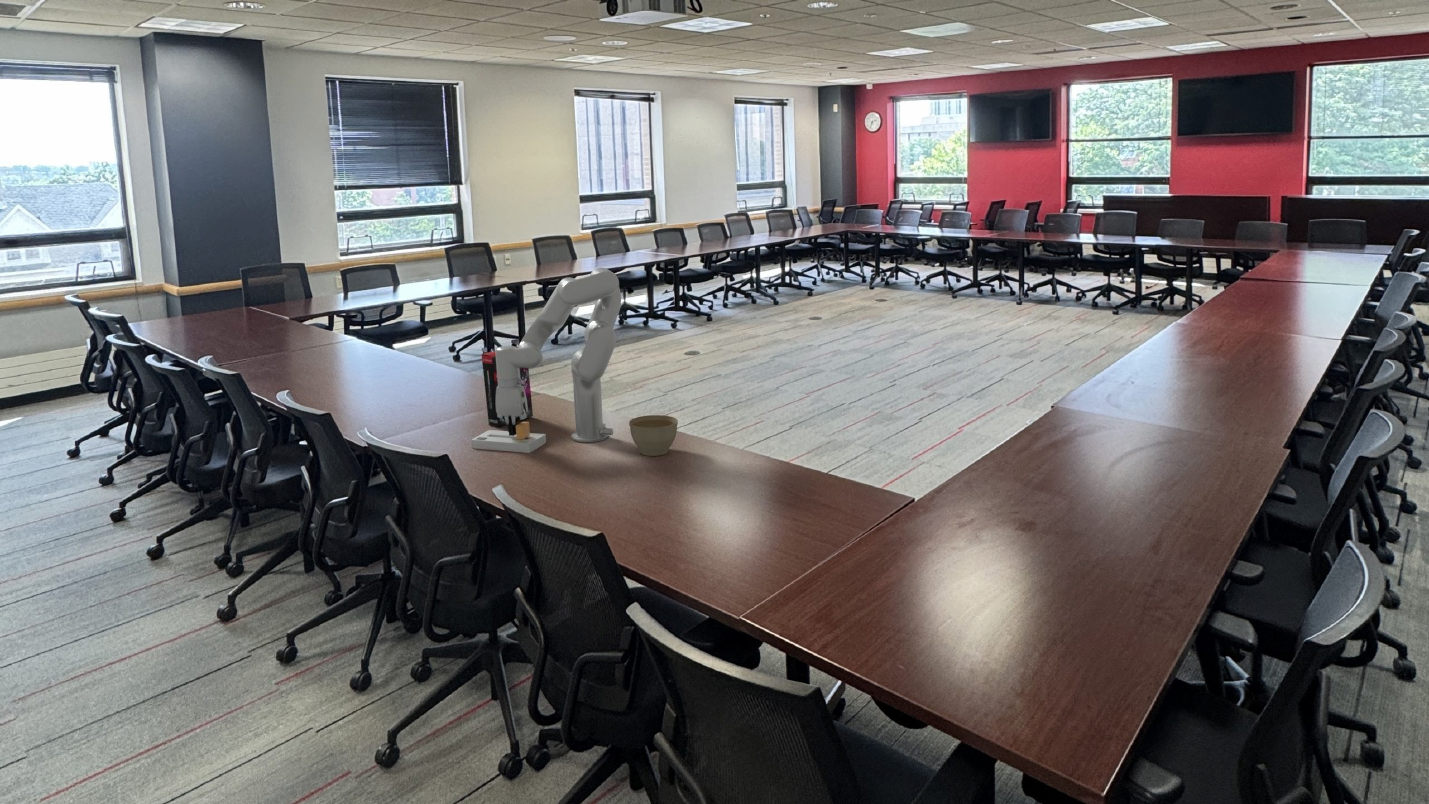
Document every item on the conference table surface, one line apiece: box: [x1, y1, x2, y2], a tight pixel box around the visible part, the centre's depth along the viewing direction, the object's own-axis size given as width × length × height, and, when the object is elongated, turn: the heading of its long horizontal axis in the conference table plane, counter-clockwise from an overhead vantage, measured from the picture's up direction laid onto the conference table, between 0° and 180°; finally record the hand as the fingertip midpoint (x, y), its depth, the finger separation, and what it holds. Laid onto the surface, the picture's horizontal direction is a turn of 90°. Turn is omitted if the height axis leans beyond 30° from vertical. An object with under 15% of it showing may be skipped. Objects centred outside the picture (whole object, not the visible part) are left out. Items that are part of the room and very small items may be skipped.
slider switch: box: [471, 429, 547, 454], centre depth 316 cm, size 22×12×3 cm, turn 73°
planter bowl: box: [628, 414, 679, 457], centre depth 305 cm, size 16×16×11 cm
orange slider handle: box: [516, 421, 531, 440], centre depth 313 cm, size 3×5×7 cm, turn 163°
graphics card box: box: [481, 345, 534, 428], centre depth 342 cm, size 17×7×27 cm, turn 143°
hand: (513, 434), depth 315 cm, fingers closed
